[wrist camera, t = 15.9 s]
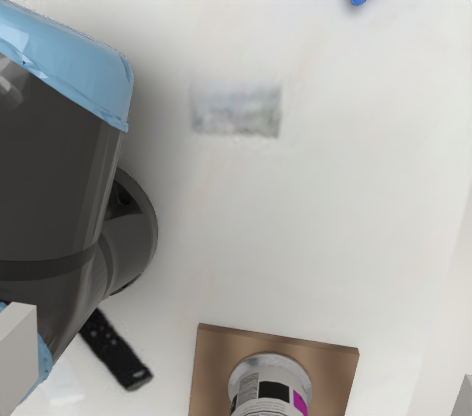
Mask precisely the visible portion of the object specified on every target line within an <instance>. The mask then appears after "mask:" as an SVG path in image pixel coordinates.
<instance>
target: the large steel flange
mask: <svg viewBox="0 0 472 416" xmlns="http://www.w3.org/2000/svg"><path fill="white" fill-rule="evenodd" d="M262 366H273V367H280V368H282V369H284V370H287V371H289V372H291V373H292V374H294V375H295V376H296V377H297V378H298V379H299V380H300V381H301V382H302V384H303V386H304V388H305V390H306V398H307V409H308V408H309V406H310V403H311V400H312V383H311V378H310V375H309V373H308V372H307V370H306V369H305V367H304V366H303V365H302V364H301V363H300V362H299V361H297V360H296V359H295V358H293V357H291V356H289V355H287V354H284V353H281V352H276V351H261V352H256V353H253V354H250V355H248V356H246V357H244V358H243V359H241V360H240V361H239V362H238V363H237V364H236V365H235V366H234V368H233V370H232V372H231V374H230V378H229V384H228V394H229V398H230V401H231V400H232V393H233V389H234V386H235V383H236V381H237V380H238V379H239V378H240V377H241V375H242V374H244V373H245V372H247V371H249V370H251V369H252V368H257V367H262Z"/></svg>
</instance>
